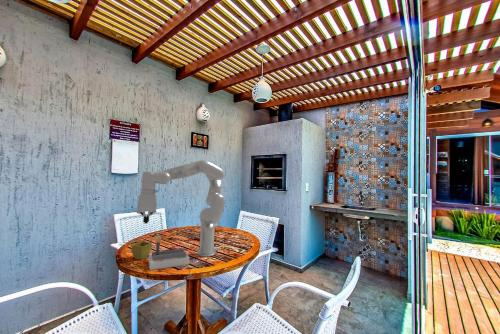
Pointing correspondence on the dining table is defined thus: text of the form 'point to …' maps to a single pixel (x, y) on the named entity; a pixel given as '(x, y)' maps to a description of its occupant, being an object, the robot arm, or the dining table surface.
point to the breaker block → (168, 259)
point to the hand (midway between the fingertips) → (145, 223)
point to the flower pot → (141, 250)
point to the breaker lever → (157, 245)
